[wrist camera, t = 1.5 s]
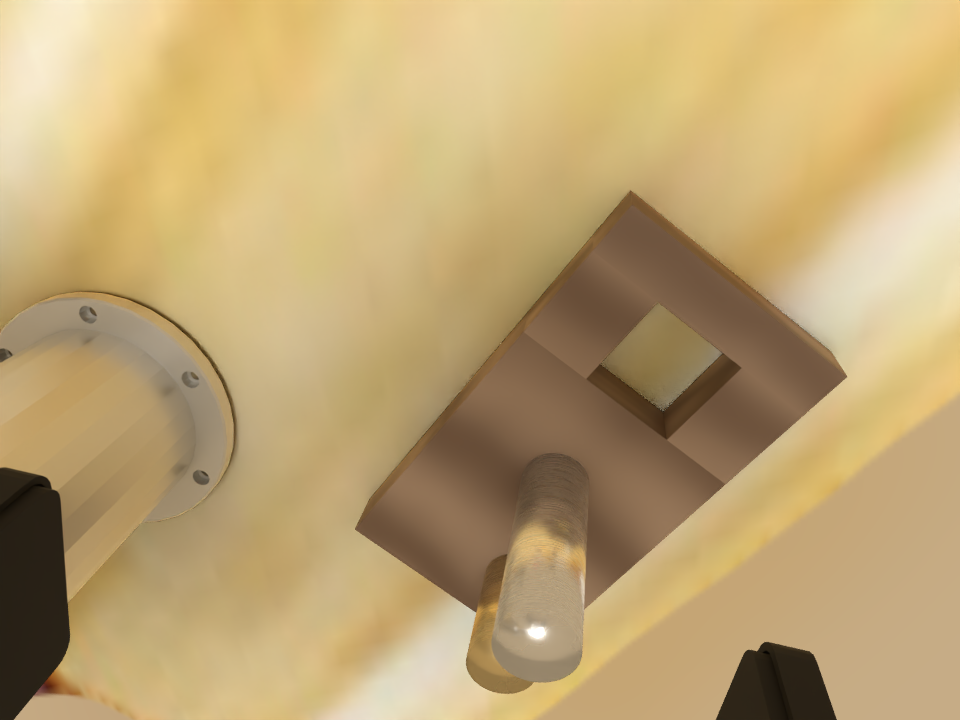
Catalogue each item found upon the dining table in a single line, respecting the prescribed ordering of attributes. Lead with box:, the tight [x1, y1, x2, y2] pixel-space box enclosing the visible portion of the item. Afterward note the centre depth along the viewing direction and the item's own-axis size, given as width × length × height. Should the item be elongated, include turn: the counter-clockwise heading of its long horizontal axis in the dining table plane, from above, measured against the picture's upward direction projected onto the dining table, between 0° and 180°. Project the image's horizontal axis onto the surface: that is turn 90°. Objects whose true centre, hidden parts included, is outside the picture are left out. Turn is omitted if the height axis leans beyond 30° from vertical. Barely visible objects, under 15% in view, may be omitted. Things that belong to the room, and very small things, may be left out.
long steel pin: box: [491, 453, 589, 682], centre depth 30 cm, size 3×3×10 cm
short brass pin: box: [466, 554, 534, 694], centre depth 35 cm, size 3×3×6 cm
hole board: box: [355, 191, 847, 612], centre depth 35 cm, size 20×11×2 cm, turn 144°
